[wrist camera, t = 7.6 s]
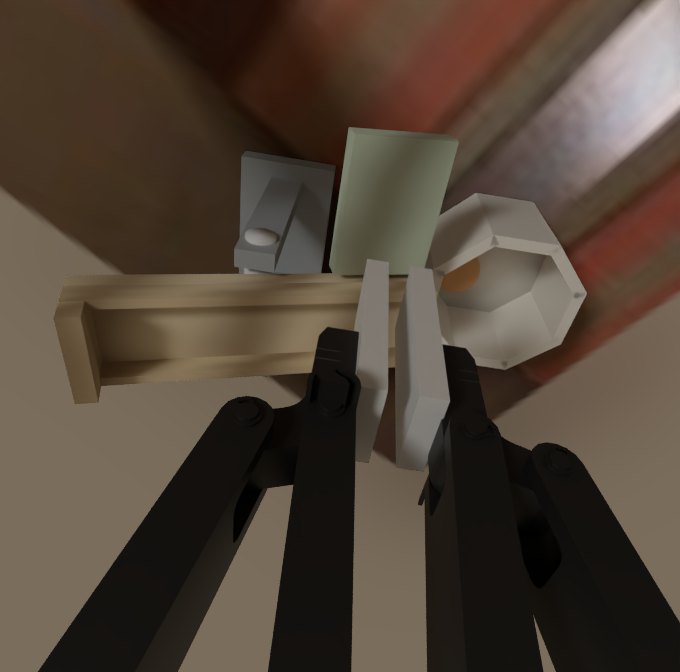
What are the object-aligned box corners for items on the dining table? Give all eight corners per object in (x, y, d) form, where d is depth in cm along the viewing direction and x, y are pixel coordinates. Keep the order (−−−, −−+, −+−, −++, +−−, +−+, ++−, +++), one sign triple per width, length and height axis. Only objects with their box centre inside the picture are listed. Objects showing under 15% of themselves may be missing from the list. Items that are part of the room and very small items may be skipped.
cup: (573, 208, 34) (608, 253, 29) (523, 321, 39) (544, 375, 34) (435, 186, 33) (445, 227, 28) (405, 303, 39) (408, 355, 34)
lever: (459, 135, 24) (493, 160, 21) (403, 342, 31) (423, 379, 29) (29, 102, 19) (6, 129, 16) (85, 358, 26) (75, 404, 24)
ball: (488, 264, 32) (439, 254, 32) (473, 305, 34) (427, 296, 34) (484, 242, 35) (438, 234, 35) (470, 281, 37) (427, 273, 37)
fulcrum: (335, 165, 33) (318, 242, 24) (318, 292, 39) (299, 394, 30) (245, 150, 33) (192, 223, 24) (242, 280, 39) (198, 379, 30)
